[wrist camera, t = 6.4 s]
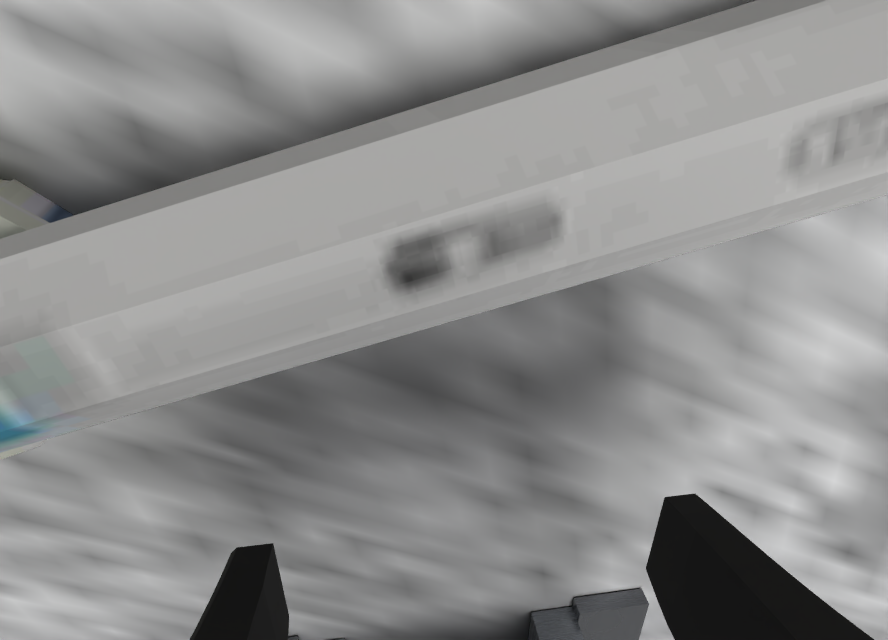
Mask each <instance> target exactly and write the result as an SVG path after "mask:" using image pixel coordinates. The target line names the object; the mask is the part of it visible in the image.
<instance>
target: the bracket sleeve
mask: <svg viewBox="0 0 888 640" xmlns="http://www.w3.org/2000/svg"><path fill="white" fill-rule="evenodd" d="M648 605H649V603H648V601H647V599H646V597H645V595H644V593H643V591H642V589H635V590H627V591H620V592H613V593H606V594H598V595H591V596H584V597H577V598H574V600H573V606H572V607H566V608H559V609H552V610H545V611H537V612H531V619H530V627H529V635H528V640H639V636H640V633H641V629H642V626H643V623H644V619H645V616H646V612H647V609H648ZM288 640H298V636H294V637H288ZM337 640H345V639H337Z"/></svg>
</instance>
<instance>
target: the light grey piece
mask: <svg viewBox="0 0 888 640" xmlns="http://www.w3.org/2000/svg"><path fill="white" fill-rule="evenodd" d="M886 195H888V0H756V1H753V2H749V3H746V4H743V5H740V6H737V7H734V8H730V9H727V10H724V11H721V12H718V13H715V14H711V15H708V16H705V17H702V18H699V19H696V20H692V21H689V22H686V23H683V24H680V25H677V26H673V27H670V28H667V29H664V30H661V31H658V32H654V33H651V34H648V35H645V36H642V37H639V38H635V39H632V40H629V41H626V42H623V43H620V44H616V45H613V46H610V47H607V48H604V49H600V50H597V51H594V52H591V53H588V54H585V55H581V56H578V57H575V58H572V59H569V60H566V61H562V62H559V63H556V64H553V65H550V66H547V67H543V68H540V69H537V70H534V71H531V72H528V73H524V74H521V75H518V76H515V77H512V78H509V79H505V80H502V81H499V82H496V83H493V84H490V85H486V86H483V87H480V88H477V89H474V90H471V91H467V92H464V93H461V94H458V95H455V96H452V97H448V98H445V99H442V100H439V101H436V102H432V103H429V104H426V105H423V106H420V107H417V108H413V109H410V110H407V111H404V112H401V113H398V114H394V115H391V116H388V117H385V118H382V119H379V120H375V121H372V122H369V123H366V124H363V125H360V126H356V127H353V128H350V129H347V130H344V131H341V132H337V133H334V134H331V135H328V136H325V137H322V138H318V139H315V140H312V141H309V142H306V143H303V144H299V145H296V146H293V147H290V148H287V149H284V150H280V151H277V152H274V153H271V154H268V155H264V156H261V157H258V158H255V159H252V160H249V161H245V162H242V163H239V164H236V165H233V166H230V167H226V168H223V169H220V170H217V171H214V172H211V173H207V174H204V175H201V176H198V177H195V178H192V179H188V180H185V181H182V182H179V183H176V184H173V185H169V186H166V187H163V188H160V189H157V190H154V191H150V192H147V193H144V194H141V195H138V196H135V197H131V198H128V199H125V200H122V201H119V202H115V203H112V204H109V205H106V206H103V207H100V208H96V209H93V210H90V211H87V212H84V213H81V214H77V215H73V214H71V213H69V212H68V211H66V210H64V209H63V208H61V207H60V206H58V205H56V204H55V203H53V202H51V201H50V200H48V199H46V198H45V197H43V196H42V195H40V194H38V193H37V192H35V191H33V190H32V189H30V188H28V187H27V186H25V185H23V184H22V183H20V182H19V181H17V180H15V179H13V180H12V181H7V180H0V460H1V459H4V458H7V457H10V456H13V455H16V454H19V453H22V452H25V451H28V450H31V449H34V448H37V447H40V446H41V445H42V444H43V443H44V442H45V441H46V440H47V439H49V438H53V437H56V436H59V435H63V434H66V433H70V432H73V431H77V430H80V429H83V428H87V427H90V426H94V425H97V424H101V423H104V422H108V421H111V420H114V419H118V418H121V417H125V416H128V415H132V414H135V413H139V412H142V411H145V410H149V409H152V408H156V407H159V406H163V405H166V404H170V403H173V402H176V401H180V400H183V399H187V398H190V397H194V396H197V395H201V394H204V393H207V392H211V391H214V390H218V389H221V388H225V387H228V386H232V385H235V384H238V383H242V382H245V381H249V380H252V379H256V378H259V377H263V376H266V375H269V374H273V373H276V372H280V371H283V370H287V369H290V368H294V367H297V366H300V365H304V364H307V363H311V362H314V361H318V360H321V359H324V358H328V357H331V356H335V355H338V354H342V353H345V352H349V351H352V350H355V349H359V348H362V347H366V346H369V345H373V344H376V343H380V342H383V341H386V340H390V339H393V338H397V337H400V336H404V335H407V334H411V333H414V332H417V331H421V330H424V329H428V328H431V327H435V326H438V325H442V324H445V323H448V322H452V321H455V320H459V319H462V318H466V317H469V316H473V315H476V314H479V313H483V312H486V311H490V310H493V309H497V308H500V307H504V306H507V305H510V304H514V303H517V302H521V301H524V300H528V299H531V298H534V297H538V296H541V295H545V294H548V293H552V292H555V291H559V290H562V289H565V288H569V287H572V286H576V285H579V284H583V283H586V282H590V281H593V280H596V279H600V278H603V277H607V276H610V275H614V274H617V273H621V272H624V271H627V270H631V269H634V268H638V267H641V266H645V265H648V264H652V263H655V262H658V261H662V260H665V259H669V258H672V257H676V256H679V255H683V254H686V253H689V252H693V251H696V250H700V249H703V248H707V247H710V246H714V245H717V244H720V243H724V242H727V241H731V240H734V239H738V238H741V237H744V236H748V235H751V234H755V233H758V232H762V231H765V230H769V229H772V228H775V227H779V226H782V225H786V224H789V223H793V222H796V221H800V220H803V219H806V218H810V217H813V216H817V215H820V214H824V213H827V212H831V211H834V210H837V209H841V208H844V207H848V206H851V205H855V204H858V203H862V202H865V201H868V200H872V199H875V198H879V197H882V196H886Z"/></svg>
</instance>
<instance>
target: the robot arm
mask: <svg viewBox="0 0 888 640" xmlns="http://www.w3.org/2000/svg"><path fill="white" fill-rule="evenodd" d="M646 570H647V573H648V576H649V578H650V581H651V584H652V586H653V589H654V592H655V595H656V597H657V600H658V602H659V605H660V607H661V610H662V612H663V615H664V617H665V620H666V622H667V625H668V627H669V629H670V631H671V633H672V635H673V637H674V639H675V640H874V639H873V638H871V637H870V636H869V635H867V634H866V633H865V632H863V631H862V630H861V629H859V628H858V627H857V626H855V625H854V624H853V623H851V622H850V621H849V620H847V619H846V618H845V617H843V616H842V615H841V614H839V613H838V612H837V611H836V610H834V609H833V608H832V607H830V606H829V605H828V604H827V603H825V602H824V601H823V600H822V599H820V598H819V597H818V596H816V595H815V594H814V593H813V592H812V591H810V590H809V589H808V588H807V587H805V586H804V585H803V584H802V583H800V582H799V581H798V580H797V579H795V578H794V577H793V576H792V575H791V574H789V573H788V572H787V571H786V570H785V569H783V568H782V567H781V566H780V565H779V564H777V563H776V562H775V561H774V560H773V559H771V558H770V557H769V556H768V555H767V554H765V553H764V552H763V551H762V550H761V549H760V548H758V547H757V546H756V545H755V544H754V543H752V542H751V541H750V540H749V539H748V538H747V537H745V536H744V535H743V534H742V533H741V532H740V531H738V530H737V529H736V528H735V527H734V526H733V525H731V524H730V523H729V522H728V521H727V520H726V519H724V518H723V517H722V516H721V515H720V514H719V513H717V512H716V511H715V510H714V509H713V508H712V507H710V506H709V505H708V504H707V503H706V502H704V501H703V500H702V499H701V498H700V497H698V496H697V495H696V494H688V495H679V496H671V497H665V498H664V502H663V506H662V510H661V513H660V517H659V521H658V525H657V528H656V532H655V536H654V540H653V543H652V547H651V551H650V555H649V559H648V562H647V566H646ZM288 628H289V614H288V609H287V605H286V600H285V596H284V591H283V587H282V582H281V577H280V573H279V568H278V564H277V559H276V555H275V550H274V545H273V543H272V544H264V545H255V546H247V547H238V548H236V549H235V550H234V551H233V552H232V553H231V555H230V557H229V559H228V562H227V564H226V566H225V569H224V571H223V573H222V575H221V578H220V580H219V582H218V584H217V586H216V588H215V590H214V593H213V595H212V597H211V599H210V601H209V603H208V605H207V607H206V609H205V611H204V613H203V615H202V617H201V619H200V621H199V623H198V625H197V627H196V629H195V631H194V633H193V635H192V636H191V638H190V640H288Z"/></svg>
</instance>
